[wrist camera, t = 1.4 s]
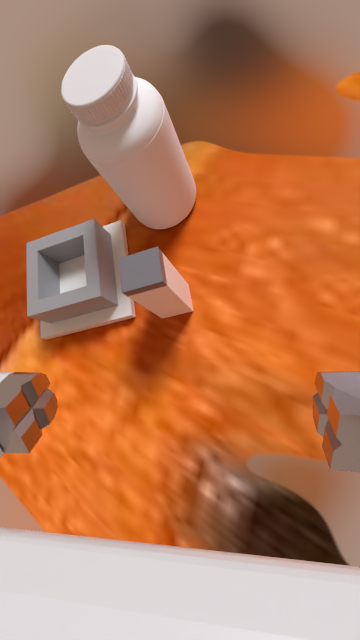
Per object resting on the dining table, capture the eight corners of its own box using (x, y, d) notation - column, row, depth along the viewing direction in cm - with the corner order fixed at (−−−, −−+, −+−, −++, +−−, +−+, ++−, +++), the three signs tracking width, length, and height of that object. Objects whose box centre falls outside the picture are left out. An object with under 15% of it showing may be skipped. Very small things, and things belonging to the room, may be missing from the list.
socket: (124, 224, 35) (105, 202, 31) (135, 317, 32) (115, 306, 28) (44, 252, 38) (16, 235, 34) (46, 339, 35) (15, 333, 31)
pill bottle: (123, 216, 36) (27, 105, 22) (159, 163, 36) (88, 19, 22) (171, 243, 33) (96, 135, 19) (211, 185, 33) (166, 35, 19)
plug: (188, 284, 31) (157, 246, 22) (193, 311, 30) (162, 281, 22) (158, 292, 32) (117, 258, 23) (162, 318, 31) (121, 292, 22)
